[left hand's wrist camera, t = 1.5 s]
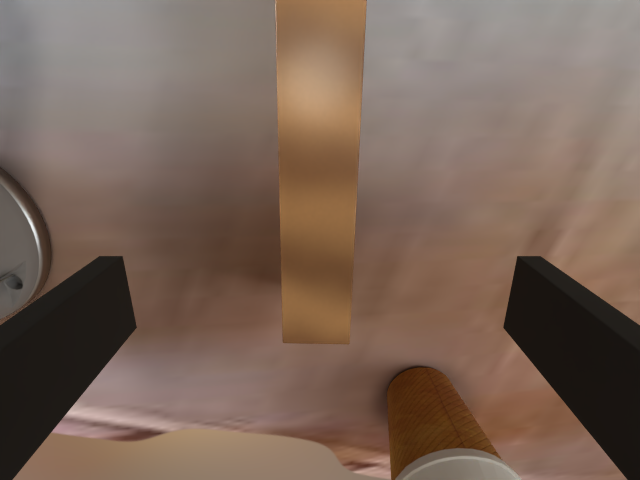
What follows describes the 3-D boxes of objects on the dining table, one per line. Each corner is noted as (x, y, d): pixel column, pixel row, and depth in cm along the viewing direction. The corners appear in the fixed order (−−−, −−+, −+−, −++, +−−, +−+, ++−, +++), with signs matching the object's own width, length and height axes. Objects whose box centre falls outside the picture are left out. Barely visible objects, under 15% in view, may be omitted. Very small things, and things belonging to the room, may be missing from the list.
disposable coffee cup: (429, 444, 38) (474, 587, 27) (351, 406, 37) (363, 541, 25) (490, 380, 35) (568, 509, 24) (407, 335, 34) (450, 452, 22)
